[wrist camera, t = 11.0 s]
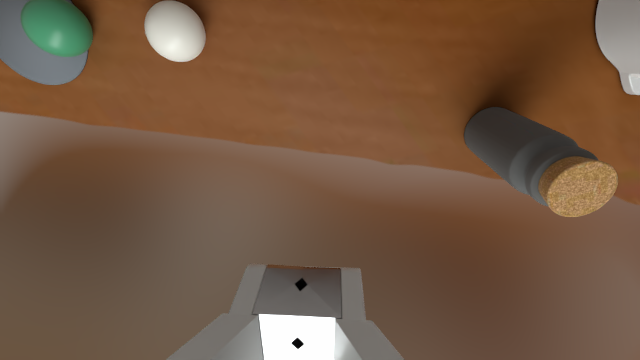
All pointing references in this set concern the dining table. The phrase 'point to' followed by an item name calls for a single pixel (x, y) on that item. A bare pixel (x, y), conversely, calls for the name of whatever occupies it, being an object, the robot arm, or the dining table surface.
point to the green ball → (56, 27)
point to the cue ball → (175, 31)
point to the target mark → (33, 50)
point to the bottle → (541, 162)
